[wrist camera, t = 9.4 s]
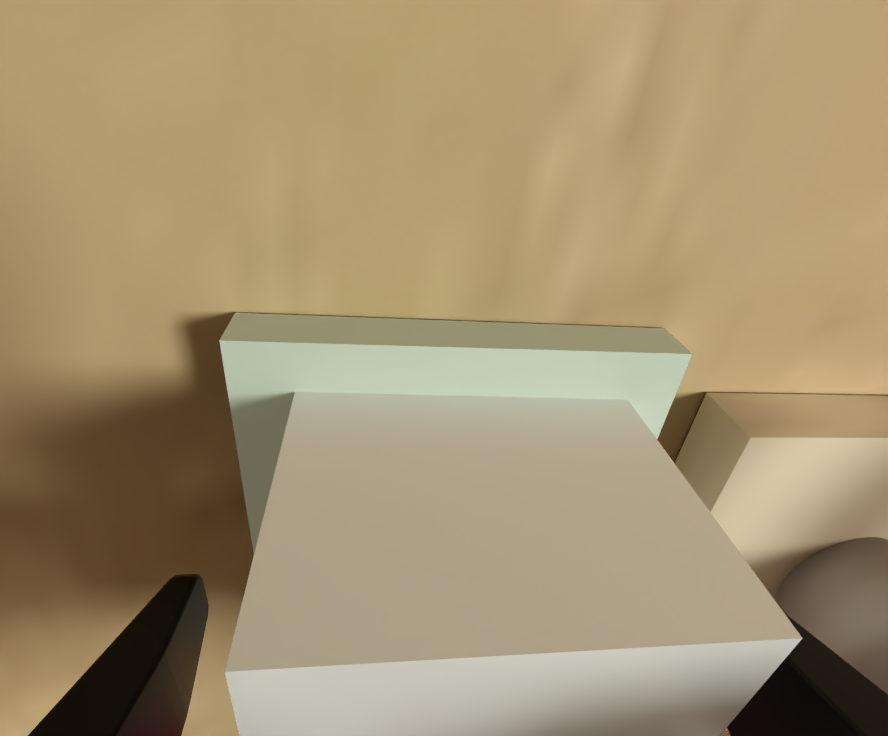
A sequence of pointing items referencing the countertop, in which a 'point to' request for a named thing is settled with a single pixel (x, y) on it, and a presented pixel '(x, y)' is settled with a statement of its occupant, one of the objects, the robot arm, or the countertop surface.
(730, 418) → the post base
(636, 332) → the pad
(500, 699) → the white cabinet cube
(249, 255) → the countertop surface
